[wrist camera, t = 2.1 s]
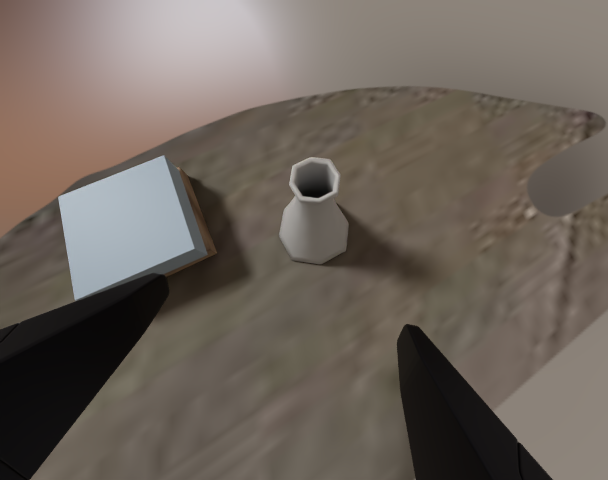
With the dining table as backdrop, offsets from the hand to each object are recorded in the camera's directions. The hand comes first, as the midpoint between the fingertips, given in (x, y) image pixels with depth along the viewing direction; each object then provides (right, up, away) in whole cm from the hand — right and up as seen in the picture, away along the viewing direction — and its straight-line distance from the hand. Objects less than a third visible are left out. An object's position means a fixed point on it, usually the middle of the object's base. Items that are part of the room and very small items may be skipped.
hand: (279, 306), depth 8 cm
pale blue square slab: (-15, +3, +14) cm, 20 cm away
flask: (+2, +3, +15) cm, 16 cm away
